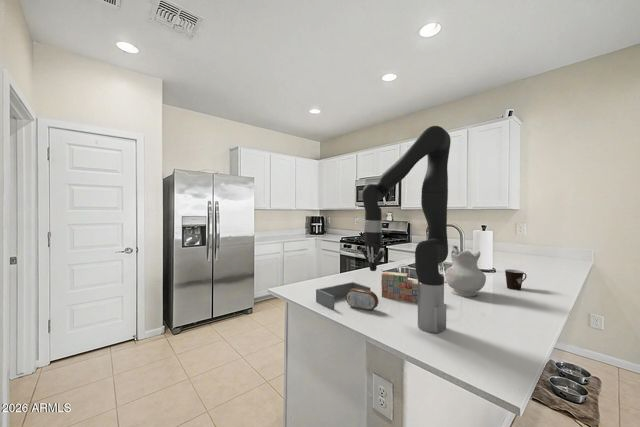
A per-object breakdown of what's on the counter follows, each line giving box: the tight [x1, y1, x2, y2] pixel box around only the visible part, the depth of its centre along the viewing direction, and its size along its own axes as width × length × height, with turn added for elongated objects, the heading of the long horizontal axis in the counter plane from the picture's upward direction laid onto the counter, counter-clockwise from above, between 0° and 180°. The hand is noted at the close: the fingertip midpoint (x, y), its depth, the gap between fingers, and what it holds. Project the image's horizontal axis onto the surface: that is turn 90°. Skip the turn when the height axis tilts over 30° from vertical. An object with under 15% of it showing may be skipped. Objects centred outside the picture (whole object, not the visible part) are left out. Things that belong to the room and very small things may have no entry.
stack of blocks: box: [380, 271, 418, 303], centre depth 137 cm, size 21×6×12 cm, turn 63°
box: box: [315, 281, 371, 311], centre depth 133 cm, size 13×24×6 cm, turn 125°
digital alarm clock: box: [345, 288, 379, 311], centre depth 123 cm, size 15×3×8 cm, turn 59°
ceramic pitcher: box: [444, 245, 487, 298], centre depth 146 cm, size 22×20×25 cm
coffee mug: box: [504, 268, 527, 291], centre depth 154 cm, size 12×9×10 cm
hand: (373, 270), depth 117 cm, fingers closed
